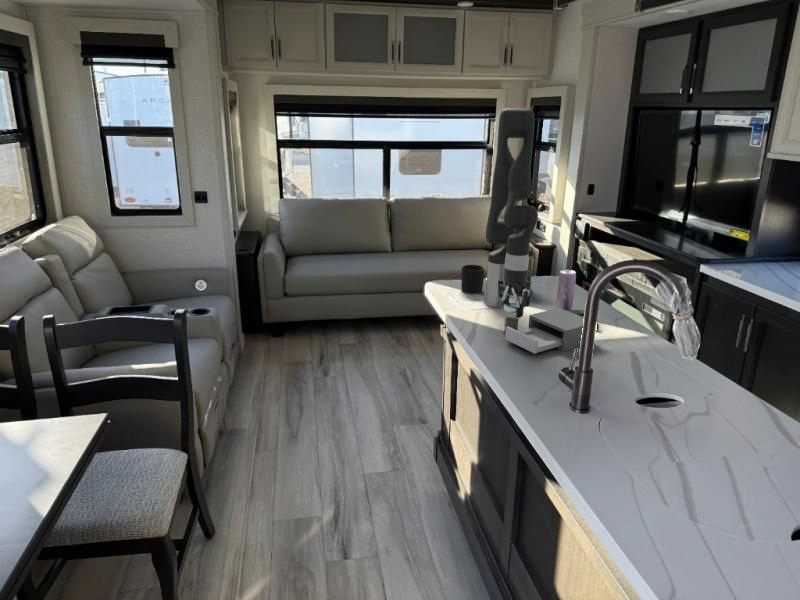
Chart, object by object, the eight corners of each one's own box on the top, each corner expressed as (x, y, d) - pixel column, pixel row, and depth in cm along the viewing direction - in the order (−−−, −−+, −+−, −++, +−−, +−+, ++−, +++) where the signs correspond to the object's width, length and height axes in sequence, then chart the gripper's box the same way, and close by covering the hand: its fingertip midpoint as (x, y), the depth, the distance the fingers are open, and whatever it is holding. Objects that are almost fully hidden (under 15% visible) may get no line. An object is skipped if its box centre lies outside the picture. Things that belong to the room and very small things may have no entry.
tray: (505, 339, 182) (506, 327, 180) (534, 331, 188) (535, 319, 187) (534, 353, 171) (535, 340, 170) (564, 344, 178) (565, 332, 177)
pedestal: (501, 331, 191) (502, 318, 189) (511, 329, 193) (512, 315, 192) (510, 336, 188) (511, 322, 186) (520, 333, 190) (521, 319, 188)
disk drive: (598, 332, 194) (587, 316, 207) (599, 324, 193) (588, 309, 207) (568, 331, 194) (559, 315, 208) (569, 323, 193) (560, 308, 207)
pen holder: (487, 290, 234) (489, 267, 231) (474, 295, 228) (475, 272, 224) (469, 286, 240) (470, 263, 237) (455, 290, 234) (457, 267, 230)
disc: (499, 308, 189) (500, 304, 188) (513, 305, 192) (513, 300, 191) (512, 314, 184) (512, 309, 184) (525, 310, 187) (525, 306, 187)
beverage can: (573, 308, 214) (578, 271, 209) (569, 313, 209) (573, 274, 204) (558, 305, 217) (562, 268, 212) (553, 310, 212) (557, 272, 207)
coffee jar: (511, 292, 233) (514, 248, 227) (504, 286, 240) (507, 244, 234) (533, 291, 234) (537, 248, 228) (526, 285, 242) (529, 243, 236)
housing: (527, 334, 189) (529, 315, 187) (556, 326, 196) (558, 307, 194) (563, 351, 176) (566, 330, 174) (593, 342, 184) (596, 322, 181)
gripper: (492, 262, 187) (489, 309, 192) (523, 273, 175) (518, 323, 181) (509, 259, 190) (505, 305, 196) (540, 270, 179) (535, 318, 185)
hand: (512, 313), depth 189 cm, fingers closed on disc, 6 cm apart
